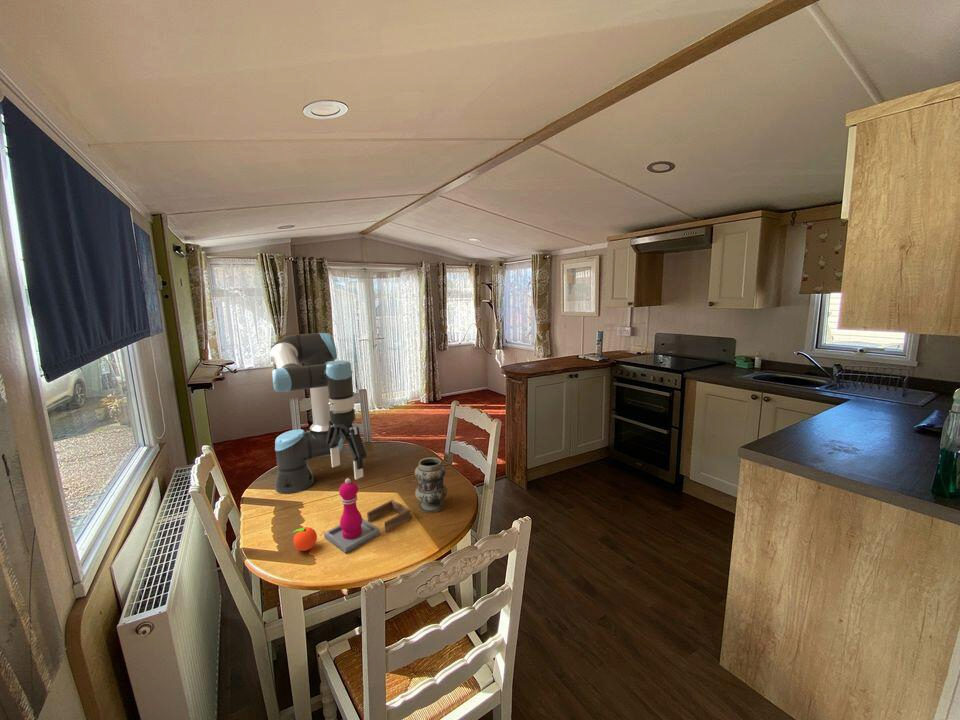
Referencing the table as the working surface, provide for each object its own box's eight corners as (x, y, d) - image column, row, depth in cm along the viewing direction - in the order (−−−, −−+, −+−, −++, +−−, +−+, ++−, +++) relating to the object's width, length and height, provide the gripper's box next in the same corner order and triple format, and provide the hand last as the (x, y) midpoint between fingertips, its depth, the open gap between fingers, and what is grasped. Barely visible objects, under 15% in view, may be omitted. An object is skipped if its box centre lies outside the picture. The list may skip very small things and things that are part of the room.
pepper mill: (363, 538, 132) (359, 481, 129) (340, 542, 130) (335, 485, 127) (363, 525, 139) (359, 472, 136) (341, 529, 137) (336, 475, 134)
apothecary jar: (444, 495, 160) (442, 453, 157) (450, 511, 149) (449, 466, 146) (414, 500, 157) (412, 457, 154) (418, 516, 145) (415, 470, 142)
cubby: (367, 521, 143) (367, 512, 143) (392, 508, 152) (392, 499, 151) (386, 532, 136) (386, 523, 136) (411, 518, 145) (411, 509, 144)
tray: (324, 538, 134) (324, 532, 134) (358, 520, 144) (357, 515, 143) (345, 553, 126) (345, 548, 125) (380, 534, 135) (379, 528, 135)
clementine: (287, 555, 125) (284, 535, 124) (297, 542, 132) (295, 522, 131) (312, 555, 125) (310, 534, 124) (321, 541, 132) (319, 522, 131)
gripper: (311, 405, 132) (317, 465, 136) (354, 420, 116) (358, 487, 120) (332, 400, 138) (337, 457, 142) (375, 414, 122) (379, 478, 126)
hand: (347, 471), depth 131 cm, fingers open, 13 cm apart
